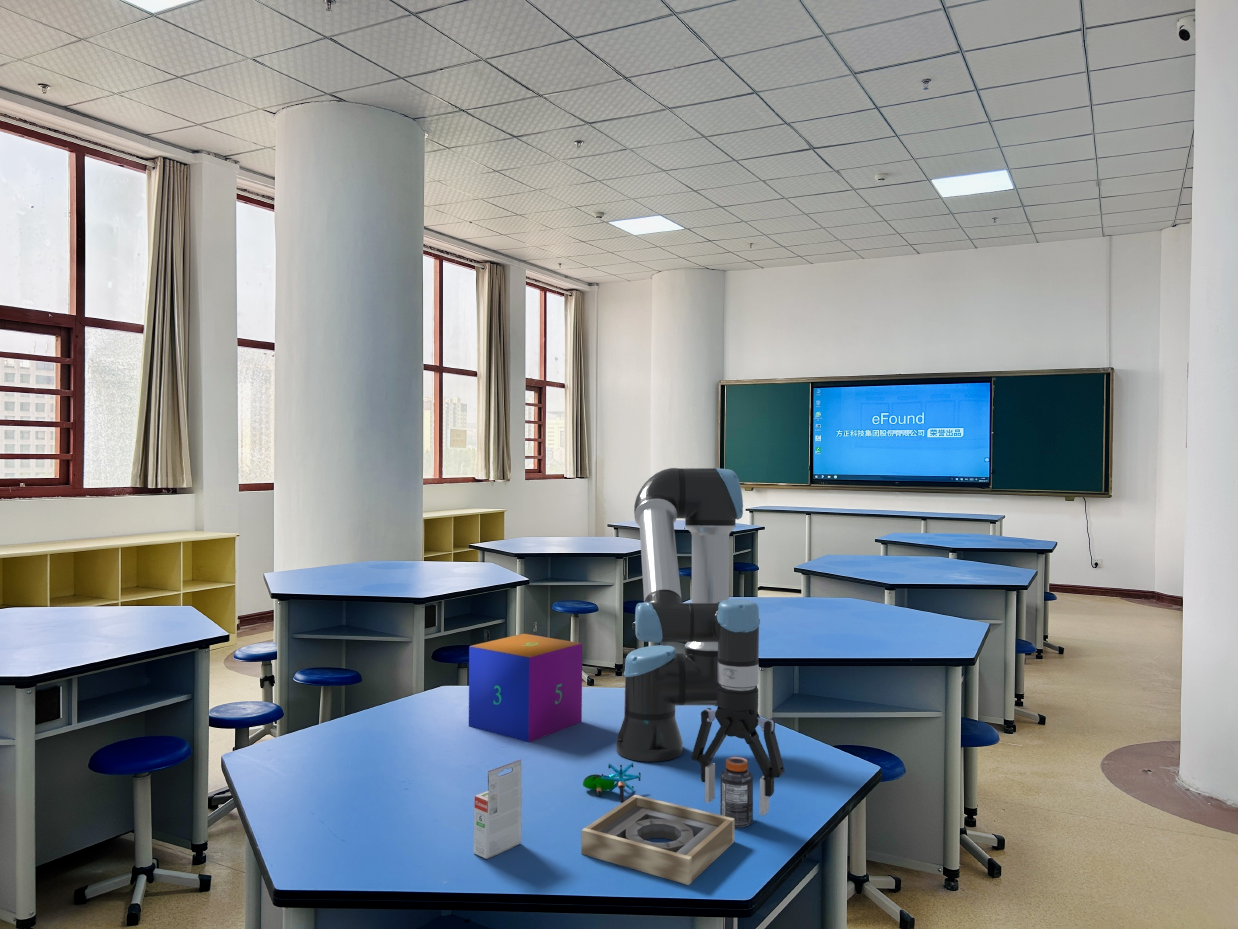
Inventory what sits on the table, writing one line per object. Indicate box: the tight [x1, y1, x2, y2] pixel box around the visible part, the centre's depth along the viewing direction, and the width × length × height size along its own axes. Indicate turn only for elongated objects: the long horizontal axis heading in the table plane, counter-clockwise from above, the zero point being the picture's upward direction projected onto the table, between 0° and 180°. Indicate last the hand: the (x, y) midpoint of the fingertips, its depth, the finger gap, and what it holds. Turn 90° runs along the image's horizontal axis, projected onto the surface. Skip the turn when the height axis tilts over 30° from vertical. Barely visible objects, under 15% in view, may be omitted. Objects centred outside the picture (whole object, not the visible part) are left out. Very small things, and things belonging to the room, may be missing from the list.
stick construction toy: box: [582, 762, 642, 803], centre depth 167 cm, size 12×7×8 cm
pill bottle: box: [719, 756, 754, 828], centre depth 156 cm, size 6×6×11 cm
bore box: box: [580, 794, 736, 886], centre depth 145 cm, size 20×18×4 cm
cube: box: [468, 633, 583, 743], centre depth 213 cm, size 20×20×20 cm
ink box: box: [473, 759, 523, 860], centre depth 144 cm, size 4×8×15 cm, turn 140°
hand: (736, 806), depth 156 cm, fingers open, 10 cm apart
